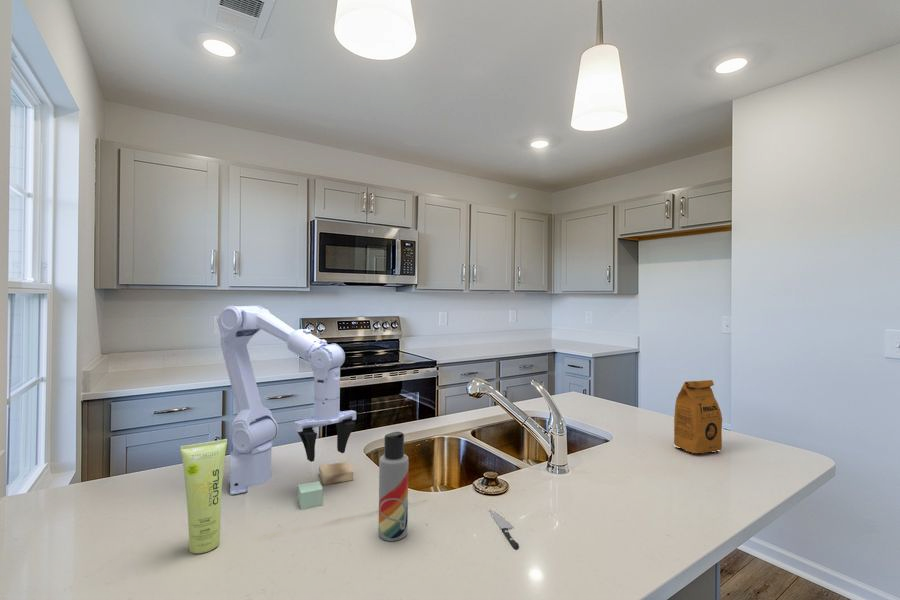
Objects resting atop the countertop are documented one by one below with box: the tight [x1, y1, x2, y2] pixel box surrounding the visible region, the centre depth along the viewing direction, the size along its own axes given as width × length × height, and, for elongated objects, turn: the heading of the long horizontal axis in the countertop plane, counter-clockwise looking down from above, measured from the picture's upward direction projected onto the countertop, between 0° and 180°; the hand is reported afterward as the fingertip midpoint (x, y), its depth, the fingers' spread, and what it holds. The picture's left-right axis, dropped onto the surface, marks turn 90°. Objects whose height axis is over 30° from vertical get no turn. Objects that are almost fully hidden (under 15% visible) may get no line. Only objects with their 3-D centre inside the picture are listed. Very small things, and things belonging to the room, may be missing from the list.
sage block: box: [297, 480, 324, 511], centre depth 94 cm, size 4×4×5 cm
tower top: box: [318, 461, 354, 486], centre depth 107 cm, size 7×7×2 cm
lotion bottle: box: [378, 431, 409, 542], centre depth 85 cm, size 6×6×20 cm
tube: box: [179, 438, 228, 554], centre depth 79 cm, size 6×5×20 cm
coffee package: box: [673, 379, 723, 454], centre depth 134 cm, size 10×12×22 cm
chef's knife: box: [488, 509, 520, 550], centre depth 90 cm, size 19×1×3 cm
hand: (326, 455), depth 100 cm, fingers open, 7 cm apart
